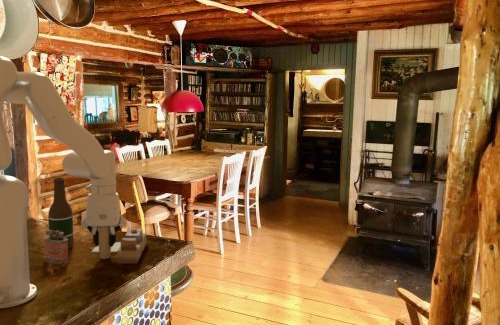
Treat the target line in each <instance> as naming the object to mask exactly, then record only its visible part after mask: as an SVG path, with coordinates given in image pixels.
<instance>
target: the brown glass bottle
mask: <svg viewBox="0 0 500 325" xmlns="http://www.w3.org/2000/svg"><path fill="white" fill-rule="evenodd" d="M65 181H66V179H65V178H64V177H55V178H53V180H52V182H53V199H52V200H53V201H52V203H51V205H50V207H49V210H48V213H47V214H48V220H47V222H48V230H54V231H57V230H59V231H60V232H64V237H63V238H67V239H68V242H67V244H68V250H69V249H72V248H73V247H74V219H73V218H74V215H73V208H72V206H71V204H70V203H69V202H68V200H67V195H66V187H65V186H66V185H65ZM48 236H50V235H48Z"/></svg>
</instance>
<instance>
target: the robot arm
mask: <svg viewBox="0 0 500 325" xmlns="http://www.w3.org/2000/svg"><path fill="white" fill-rule="evenodd" d="M63 100H64V99H63V98H62V97H61V95H60V93H59V91H58V90H57V88H56V87H55V85H54V82H53V81H52V79H50V77H49V76H47V75H46V74H44V73H41V72H39V71H18V68H17V67H16V64H15V63H14V62H13V61H12V60H11V59H10V58H7V57H5V56H1V55H0V172H2V171H5V170H7V168H9V167H10V165H11V164H12V162H13V161H12V160H13V152H12V148H11V144H10V140H9V136H8V133H7V130H6V127H5V123H4V119H3V118H4V117H3V111H2V107H3V102H5V103H9V104H13V105H14V104H17V105H25V106H26V107H27V110H28V111H29V112H30V113H31V115H32V117H33V119H34V120H35V121H36V123H37V124H38V126H39V127H40V129H41V131H42V133H44V134H45V135H46V136H47V137H49V138H50V139H52V140H54V141H56V142H58V143H60V144H61V145H64V146H65V147H67V148H69V149H71V150H72V151H73V152H69V153H68V154H66V155H65V156H64V157H63V159H62V162H61V166H62V170H63V171H64V173H65V174H66V175H69V176H71V177H75V178H82V179H89V182H90V183H89V185H86V186H85V190H86V191H89V193H88V194H87V197H86V204H85V205H86V207H85V218H84V219H83V221H82V222H81V224H80V225H81V226H82V227H84V228H85V229H87V230H88V231H89V232H90V233H91V235H92V237H93V239H92V241H93V243H92V244H94V248H95V247H97V246H98V235H99V226H110V233H111V234H110V247H112V246H113V245H114V243H116V242H117V232H118V231H120V229H123V227H125V226H127V224H128V222H127V221H126V220H125V218H124V217H123V216H122V208H121V207H122V206H121V201H120V196H119V193H118V192H117V185H116V184H117V182H116V181H117V179H116V178H117V177H116V175H117V174H116V154H115V153H114V151H112V150H109V149H104V148H103V147H102V145H101V143H100V142H99V140H98V139H97V138H96V137H95V136H94V135H93V134H92V133H91V132H89V130H87V129H86V127H84V126H83V124H80V123H79V122H78V121H77V120H76V119H75V118H74V117H73V116H72V114H71V112H70V111H69V108H68V106H66V104H65V102H64V101H63ZM29 205H30V191H29V189H28V187H27V185H26V184H25V183H24V181H23V180H21V179H19V178H18V177H16V176H12V175H8V174H1V173H0V309H7V308H13V307H16V306H20V305H23V304H25V303H27V302H29V301H30V300H32V299H33V298H35V296H36V295H37V294H38V288H37V286H36V285H35V284H33V283H31V282H30V281H31V280H30V279H31V278H30V263H29V262H30V260H29V245H28V243H29V242H28V227H27V226H28V224H27V222H28V220H27V219H28V208H29ZM99 215H107V218H106V219H103V220H102V219H100V218H99Z"/></svg>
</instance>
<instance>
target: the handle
mask: <svg viewBox="0 0 500 325" xmlns="http://www.w3.org/2000/svg"><path fill="white" fill-rule="evenodd" d="M99 218H100V219H102V220H103V219H106V218H107V215H99ZM98 232H99V235H98V245H99V259H103V260H106V259H110V258H111V253H110V252H111V247H110V234H111V230H110V226H99V227H98Z"/></svg>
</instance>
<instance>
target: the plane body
mask: <svg viewBox="0 0 500 325" xmlns="http://www.w3.org/2000/svg"><path fill="white" fill-rule="evenodd" d="M120 242H121V246H120V248H119V249H118V251H117V253H116V254H117V256H116V258H117V259H116V260H117V262H116V263H117V264H138V262H139V260H140V258H141V256H142V254H143V252H144V250H145V248H146V246H147V233H146V232H143V228H129V229H128V231H127V232H126V234H125V236H124V237H122V238H121V239H120Z"/></svg>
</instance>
